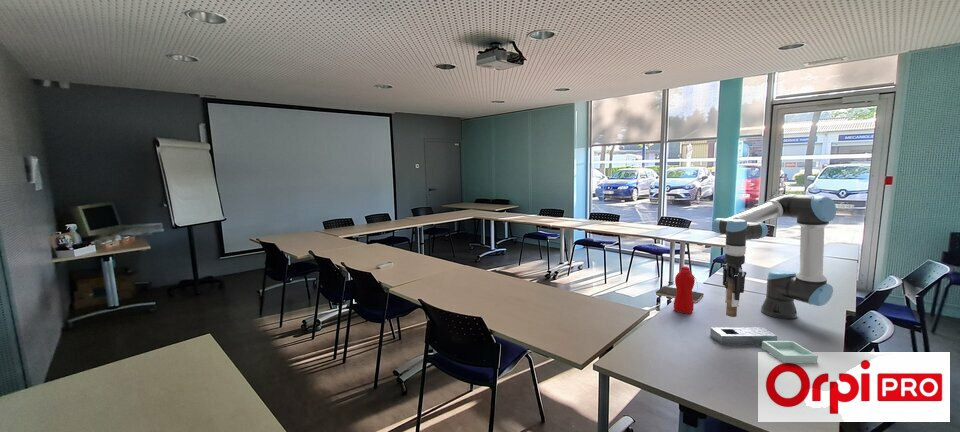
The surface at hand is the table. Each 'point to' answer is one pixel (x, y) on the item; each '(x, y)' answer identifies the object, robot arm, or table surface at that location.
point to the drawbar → (742, 335)
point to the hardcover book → (673, 291)
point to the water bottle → (684, 291)
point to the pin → (730, 299)
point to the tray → (789, 352)
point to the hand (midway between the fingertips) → (731, 304)
